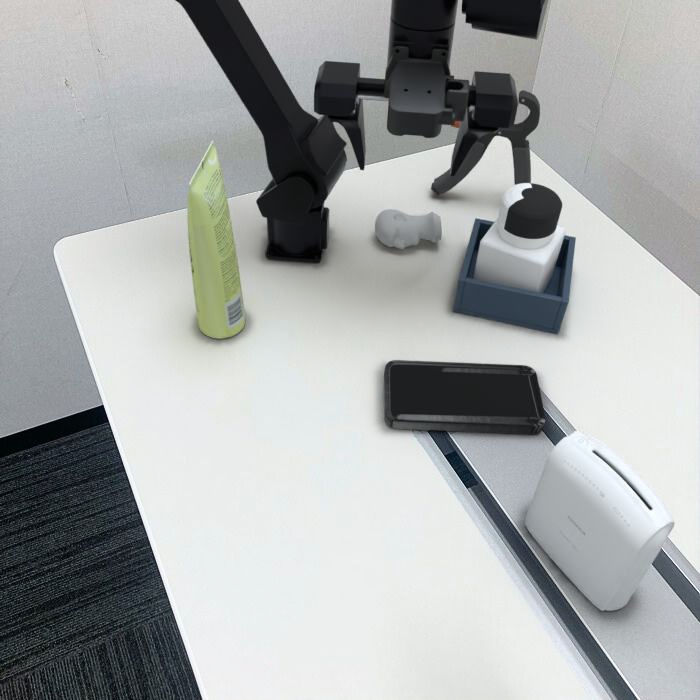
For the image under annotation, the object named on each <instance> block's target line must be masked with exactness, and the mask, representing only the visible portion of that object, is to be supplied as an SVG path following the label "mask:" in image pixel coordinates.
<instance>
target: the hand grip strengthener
mask: <svg viewBox="0 0 700 700" xmlns="http://www.w3.org/2000/svg"><path fill="white" fill-rule="evenodd" d="M517 99H518V105H517V108H518V107H519V105H523V106H525V107H526V108H527V109H528V110H529V114H528V115H527V117H526V118H525V119H524V120H523V121H521V122H517V123H514V126H512V127H510V128H499V129H498V131H497V132H496V133H487V134H485V135H483V136H481V137H480V138H479V139H478V140H477V141H476V143H475V144H474V145H473V147H472V148H471V149H470V151H469V153H468V154H467V156H466V158H465V159H464V161H463V163H462V165H461V166H460V168H459V170H458V171H457V173H456V175H455V176H454V177H450V168H449V169H448V170H446V171H445V172H443V173H442V174H441V175H439V176H437V177H435V178H434V180H433V182H431V186H430V190H431V191H432V192H433V193H434V194H435V195H436V196H437V197H439V196H441V195H444V194H445V193H447V192H449V191H450V190H452V189H454V187H456V186H457V185H458V184H459V183H461V182H462V181H463V180H464V179H465V178H466V177H467V176H469V174H470V173H471V172H472V170H473V169H474V168H475V167H476V166H477V165H478V164H479V162H480V161H481V159H482V158H483V156H484V155H485V152H486V151H487V148H488V147H489V146H490V144H491V142H492V141H493V140H494V138H495V137H502V138H506V139H507V140H509V142H510V146H511V150H512V151H511V152H512V161H513V163H512V164H513V178H514V179H513V181H514V182H513V183H514V185H516V184H521V183H532V164H531V148H530V141H529V139H527V137H528V136H529V135H531V134H532V133H533V132H534V131H535V130H536V129H537V128H538V126H539V124H540V118H541V117H540V116H541V104H540V101H539V99H538V97H537V96H536V95H535V94H533V93H532V92H531V91H527V90H520V91H519V92H518V97H517ZM460 122H461V121H455V124H454V125H450V127H452V128H455V129H459V126H460ZM514 185H513V186H514Z"/></svg>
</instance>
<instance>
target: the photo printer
mask: <svg viewBox="0 0 700 700" xmlns="http://www.w3.org/2000/svg"><path fill="white" fill-rule="evenodd" d="M675 524H676V521H675V520H674V518H673V516H672V514H671V513H670V511H669V509H668V508H667V506H666V504H664V502H663V501H662V499H661V498H660V496H659V495H658V494H657V493H656V492H655V490H654V489H653V488H652V487H651V486H650V484H649V483H648V482H647V481H646V480H645V479H644V478H643V476H642V475H641V474H639V473H638V472H637V471H636V470H635V468H634V467H633V466H631V465H630V464H629V463H628V462H627V461H625V460H624V459H623V458H622V457H621V456H620V455H619V454H618V453H616V452H615V451H614V450H612V449H611V448H610V447H609V446H608V445H606V444H604V443H603V442H601V441H599V440H598V439H596V438H595V437H593V436H591V435H589V434H587V433H585V432H583V431H581V430H574V431H573V432H572V433H571V434H569V435H567V436H564V437H563V438H562V439H561V440H559V441H558V442H557V444H556V445H555V446H554V447H553V448H552V449H551V451H550V453H549V454H548V456H547V458H546V460H545V463H544V465H543V469H542V471H541V474H540V476H539V479H538V482H537V486H536V487H535V490H534V493H533V496H532V499H531V501H530V504H529V507H528V510H527V513H526V516H525V519H524V525H525V527H526V528H527V530H528V532H529V534H530V535H531V536H532V538H533V539H534V540H535V542H537V544H538V545H539V546H540V547H541V548H542V550H543V551H544V552H545V553H546V554H547V556H548V557H549V558H550V559H551V560H552V561H553V562H554V564H555V565H556V566H557V567H558V568H559V569H560V570H561V571H562V572H563V574H564V575H565V576H566V577H567V578H568V580H569V581H571V582H572V584H573V585H574V586H575V587H576V588H577V589H578V590H579V591H580V592H581V593H582V595H583V596H585V598H587V600H588V601H590V602H591V603H592V604H593V605H594V607H596V608H598V610H600V611H603V612H604V611H607V612H608V611H611V612H612V611H617V610H620V609H623V607H625V606H626V605H627V603H629V601H630V599H631V598H632V596H633V595H634V593H635V591H637V588H638V586H639V585H640V584H641V582H642V580H643V579H644V577H645V575H646V574H647V572H648V570H649V569H650V568H651V566H652V564H653V563H654V561H655V560H656V558H657V557H658V555H659V553H660V552H661V550H662V548H663V547H664V545H665V543H666V542H667V540H668V537H669V536H670V534H671V532H672V531H673V529H674V527H675Z"/></svg>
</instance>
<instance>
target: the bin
mask: <svg viewBox="0 0 700 700" xmlns="http://www.w3.org/2000/svg"><path fill="white" fill-rule="evenodd" d="M494 222H495V221H493V220H487V219H481V218H477V217H475V218H474V222H473V225H472V229H471V233H470V237H469V240H468V242H467V243H468V244H467V247H466V251H465V255H464V259H463V262H462V265H461V269H460V273H459V277H458V279H457V286H456V290H455V296H454V302H453V308H452V313H455V314H461V315H465V316H469V317H470V316H471V317H475V318H480V319H484V320H489V321H494V322H499V323H503V324H508V325H512V326H517V327H521V328H526V329H531V330H537V331H541V332H546V333H551V334H555V335H559V332H560V329H561V326H562V323H563V321H564V318H565V314H566V312H567V308H568V306H569V301H570V293H571V284H572V275H573V266H574V258H575V249H576V240H577V237H576V236H572V235H567V234H565V235H564V239H563V242H562V245H561V249H560V252H559V255H558V259H557V262H556V265H555V269H554V272H553V275H552V278H551V280H550V282H549V283H548V285H547V287H546V288H545V290H544V292H543V293H539V292H534V291H530V290H525V289H520V288H515V287H510V286H505V285H500V284H495V283H491V282H486V281H481V280H476V279H473V276H474V271H475V266H476V261H477V256H478V251H479V246H480V241H481V240H482V238H483V237H484V236H485V234H486V233H487V232H488V230H489V229H490V228H491V226H492V225H493V223H494Z"/></svg>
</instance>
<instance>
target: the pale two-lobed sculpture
mask: <svg viewBox="0 0 700 700" xmlns="http://www.w3.org/2000/svg"><path fill="white" fill-rule="evenodd" d="M442 227H443V226H442V219H441V216H440V215H438V214H437V213H435V212H434V211H431V212H429V213H427V214H424V215H423V214H422V215H410V214H408V213H405V212H404V211H401V210H398V209H393V208H387V209H385V210H382V211H381V212H379V214H378V215H377V216H376V219H375V222H374V232H375V235H376V237H377V238H378V240H379V241H380V242H381V243H382V244H383V245H385V246H386V247H388V248H394V247H395V248H396V249H399V250H404V249H405V248H409V247H412V246H417V245H418V244H419V243H420V240H427V241H430V242H431V243H433V244H436V243H438V242H440V241H442V238H443V237H442V236H443V230H442Z"/></svg>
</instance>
